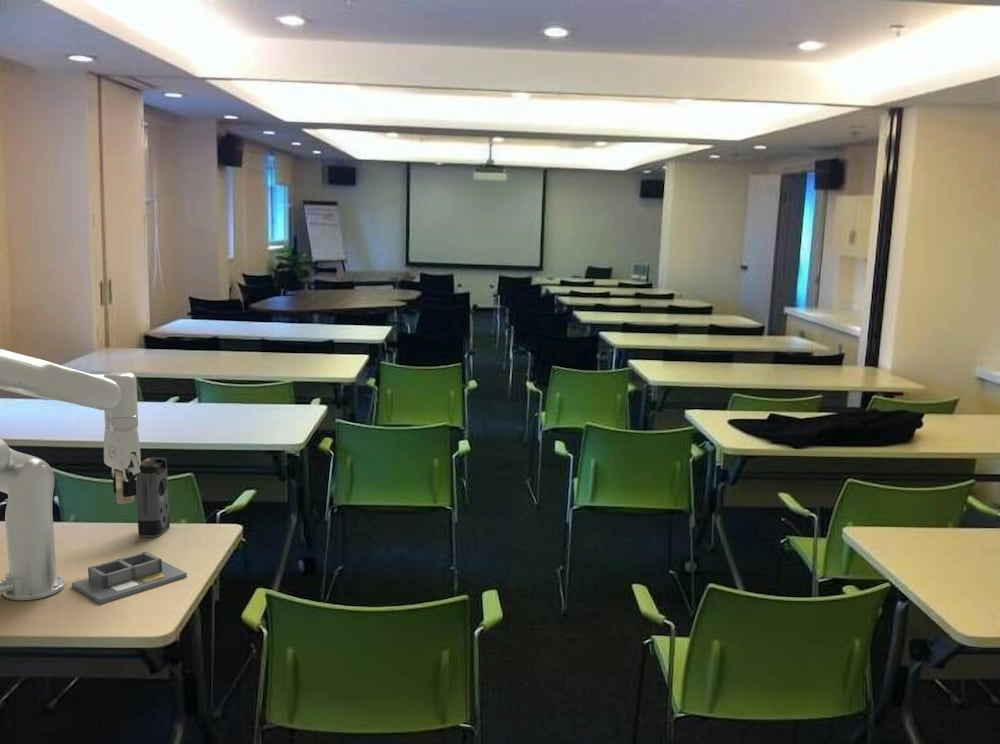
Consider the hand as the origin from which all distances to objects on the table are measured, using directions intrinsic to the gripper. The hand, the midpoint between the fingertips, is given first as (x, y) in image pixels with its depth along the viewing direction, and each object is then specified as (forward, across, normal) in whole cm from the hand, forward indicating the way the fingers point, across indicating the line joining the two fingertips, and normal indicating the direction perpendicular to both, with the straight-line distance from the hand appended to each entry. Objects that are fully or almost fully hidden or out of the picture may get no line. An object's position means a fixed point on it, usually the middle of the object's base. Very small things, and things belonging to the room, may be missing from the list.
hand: (125, 493), depth 219 cm
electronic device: (+17, -13, +14) cm, 26 cm away
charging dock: (+17, +13, -7) cm, 23 cm away
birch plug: (+2, 0, 0) cm, 2 cm away
